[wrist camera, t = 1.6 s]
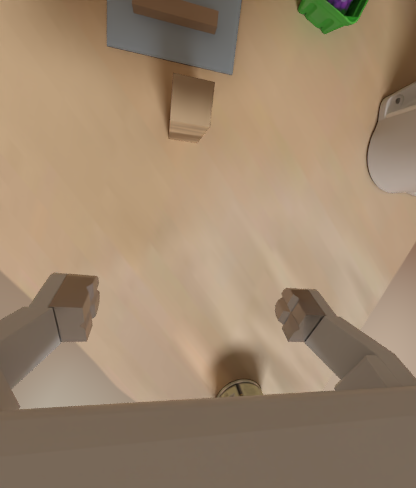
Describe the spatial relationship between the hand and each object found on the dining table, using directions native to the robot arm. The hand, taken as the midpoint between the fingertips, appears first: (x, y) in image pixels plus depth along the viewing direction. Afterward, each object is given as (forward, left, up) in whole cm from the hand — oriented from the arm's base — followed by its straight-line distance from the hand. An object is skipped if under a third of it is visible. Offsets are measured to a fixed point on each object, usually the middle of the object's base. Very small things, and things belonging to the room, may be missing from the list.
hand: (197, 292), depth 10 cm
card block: (-9, -9, -26) cm, 29 cm away
